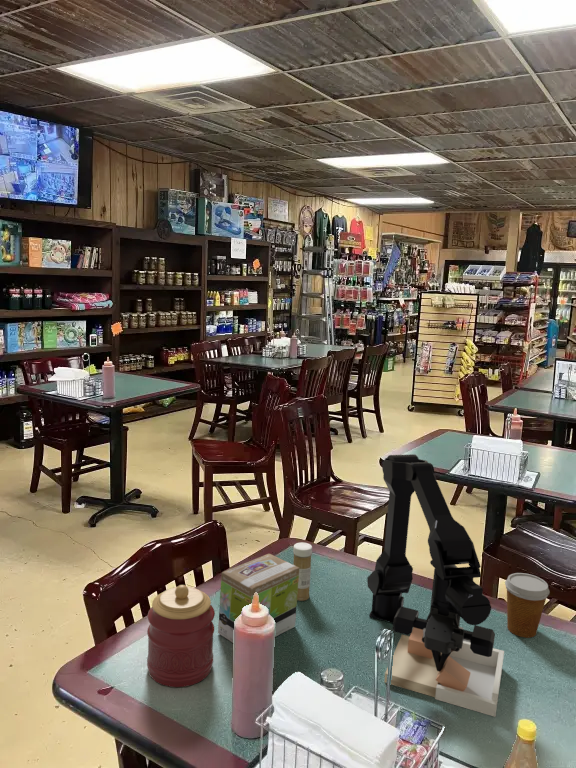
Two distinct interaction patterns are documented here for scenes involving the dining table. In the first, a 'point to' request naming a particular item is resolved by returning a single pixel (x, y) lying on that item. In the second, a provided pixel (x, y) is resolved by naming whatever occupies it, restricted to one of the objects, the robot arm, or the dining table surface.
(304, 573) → the sprinkles bottle
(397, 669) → the birch plate
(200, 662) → the canister
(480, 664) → the bin
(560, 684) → the dining table surface
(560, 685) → the dining table surface
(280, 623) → the tea box
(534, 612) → the disposable coffee cup
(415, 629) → the tile back
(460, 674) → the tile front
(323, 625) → the dining table surface
